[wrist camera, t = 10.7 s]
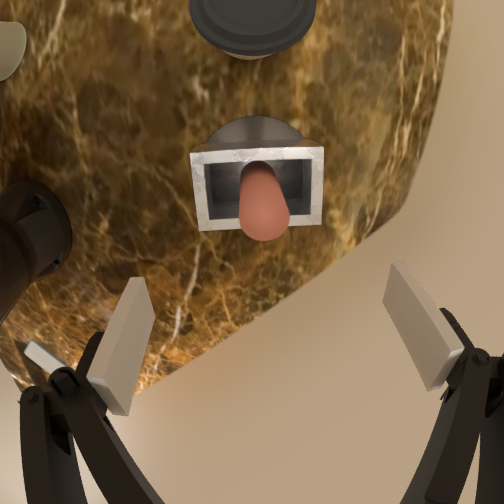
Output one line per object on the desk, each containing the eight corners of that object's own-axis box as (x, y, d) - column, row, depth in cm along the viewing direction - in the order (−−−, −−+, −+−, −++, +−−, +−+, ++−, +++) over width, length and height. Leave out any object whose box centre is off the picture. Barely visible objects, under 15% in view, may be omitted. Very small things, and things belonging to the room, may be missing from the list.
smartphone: (30, 339, 49) (85, 379, 55) (32, 336, 50) (86, 376, 55) (23, 353, 52) (72, 390, 57) (24, 350, 53) (74, 387, 58)
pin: (241, 194, 35) (240, 242, 25) (239, 161, 33) (237, 196, 23) (275, 192, 35) (289, 239, 25) (274, 159, 33) (289, 193, 23)
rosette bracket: (203, 230, 39) (198, 254, 33) (191, 120, 32) (181, 125, 26) (313, 224, 39) (323, 247, 33) (315, 114, 32) (328, 119, 27)
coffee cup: (305, 47, 28) (348, 20, 15) (235, 83, 30) (229, 76, 17) (263, -13, 24) (277, -73, 11) (193, 23, 26) (159, -20, 13)
